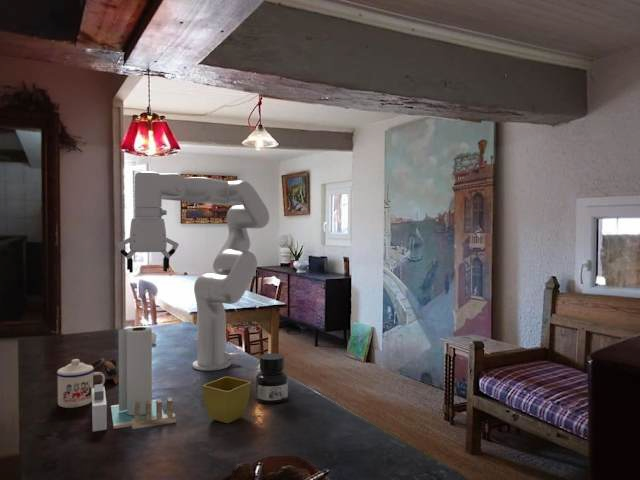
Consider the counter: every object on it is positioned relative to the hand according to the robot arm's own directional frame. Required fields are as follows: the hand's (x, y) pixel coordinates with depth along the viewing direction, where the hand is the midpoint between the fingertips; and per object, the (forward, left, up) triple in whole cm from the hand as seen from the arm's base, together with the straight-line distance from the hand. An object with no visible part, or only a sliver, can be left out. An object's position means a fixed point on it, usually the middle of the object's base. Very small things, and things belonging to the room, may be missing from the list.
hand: (148, 271), depth 149 cm
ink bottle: (-30, +25, -34) cm, 52 cm away
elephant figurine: (-6, -55, -34) cm, 65 cm away
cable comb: (+2, +30, -34) cm, 46 cm away
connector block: (+14, +22, -34) cm, 43 cm away
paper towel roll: (+5, +22, -34) cm, 40 cm away
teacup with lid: (+18, +6, -34) cm, 39 cm away
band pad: (+5, +22, -34) cm, 41 cm away
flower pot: (-15, +34, -34) cm, 51 cm away
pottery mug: (+12, -10, -35) cm, 38 cm away
